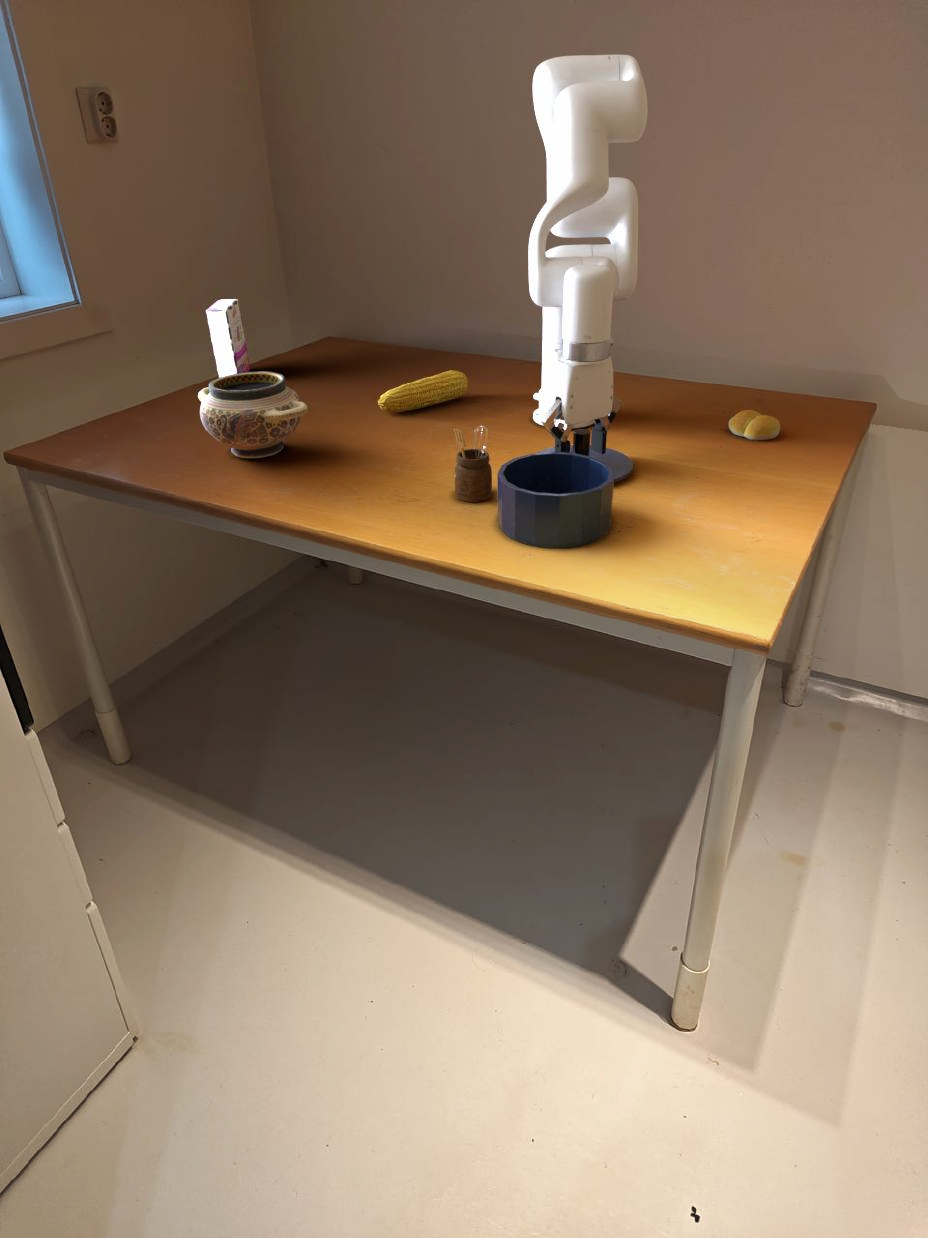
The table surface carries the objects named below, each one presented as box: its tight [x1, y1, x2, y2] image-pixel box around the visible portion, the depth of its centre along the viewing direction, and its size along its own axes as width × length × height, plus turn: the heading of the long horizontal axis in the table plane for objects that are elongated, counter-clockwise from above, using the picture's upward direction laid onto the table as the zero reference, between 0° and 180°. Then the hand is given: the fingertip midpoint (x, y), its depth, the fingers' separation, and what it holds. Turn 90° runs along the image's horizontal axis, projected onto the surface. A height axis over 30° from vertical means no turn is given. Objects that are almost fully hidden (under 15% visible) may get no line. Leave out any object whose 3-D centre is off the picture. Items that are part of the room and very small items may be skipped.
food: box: [377, 369, 469, 413], centre depth 173 cm, size 21×6×6 cm, turn 128°
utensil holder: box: [453, 425, 493, 503], centre depth 132 cm, size 6×6×12 cm
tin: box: [496, 452, 615, 549], centre depth 123 cm, size 17×17×8 cm
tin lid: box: [537, 428, 634, 483], centre depth 141 cm, size 18×18×7 cm
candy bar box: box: [205, 298, 251, 378], centre depth 193 cm, size 11×5×16 cm, turn 179°
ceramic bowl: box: [197, 370, 309, 459], centre depth 152 cm, size 24×18×15 cm
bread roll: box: [728, 409, 781, 441], centre depth 155 cm, size 8×9×4 cm
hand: (580, 455), depth 142 cm, fingers open, 7 cm apart
